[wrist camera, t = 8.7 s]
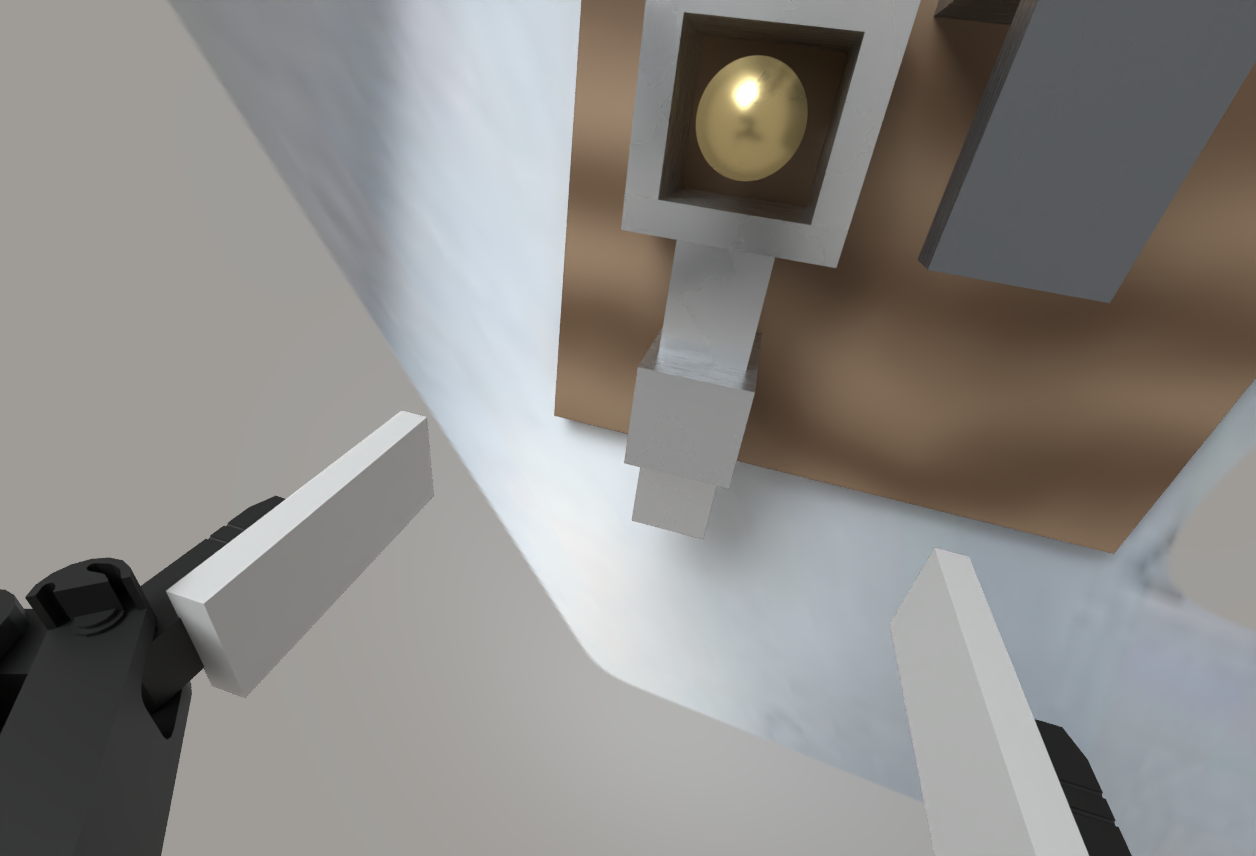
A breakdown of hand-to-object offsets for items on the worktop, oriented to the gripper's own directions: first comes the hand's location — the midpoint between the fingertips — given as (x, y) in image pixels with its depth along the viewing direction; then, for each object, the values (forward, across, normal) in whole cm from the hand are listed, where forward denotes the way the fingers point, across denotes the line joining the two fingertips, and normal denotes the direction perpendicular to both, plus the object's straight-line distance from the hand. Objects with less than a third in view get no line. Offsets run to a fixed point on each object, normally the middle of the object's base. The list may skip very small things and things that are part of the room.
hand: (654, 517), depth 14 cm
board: (+13, +6, +5) cm, 15 cm away
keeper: (+13, +7, +10) cm, 18 cm away
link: (+12, 0, +3) cm, 12 cm away
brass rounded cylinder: (+13, 0, +9) cm, 16 cm away
